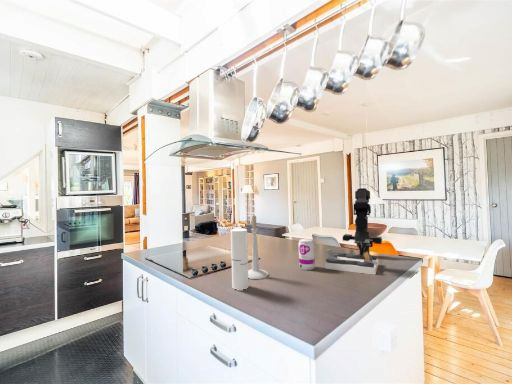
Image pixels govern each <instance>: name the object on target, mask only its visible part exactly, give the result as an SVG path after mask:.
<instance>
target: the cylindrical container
mask: <svg viewBox="0 0 512 384" xmlns="http://www.w3.org/2000/svg"><path fill="white" fill-rule="evenodd" d="M248 250H249V249H248V229H247V228H234V229H230V255H231V257H230V258H231V288H234V289H237V290H236V291H244V290H243V289H246V290H247V288H248V287H249V279H248V270H249V258H248V257H249V254H248V252H249V251H248ZM234 289H233V290H234ZM248 289H249V288H248Z"/></svg>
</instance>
